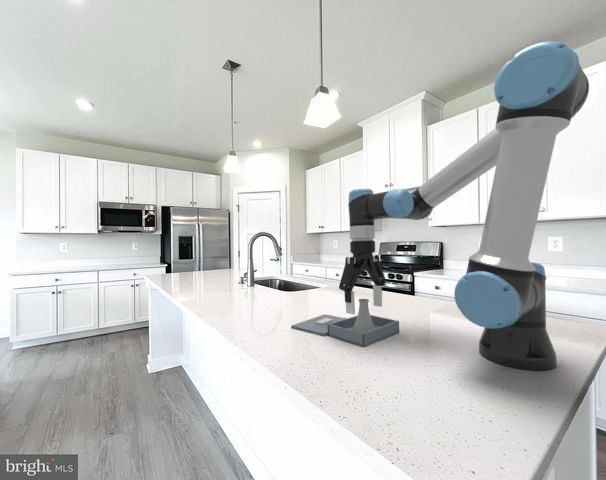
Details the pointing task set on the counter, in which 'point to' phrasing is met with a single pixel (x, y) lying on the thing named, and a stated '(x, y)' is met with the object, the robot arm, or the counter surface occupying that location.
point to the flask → (363, 318)
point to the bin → (381, 331)
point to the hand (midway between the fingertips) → (364, 309)
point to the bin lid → (317, 324)
